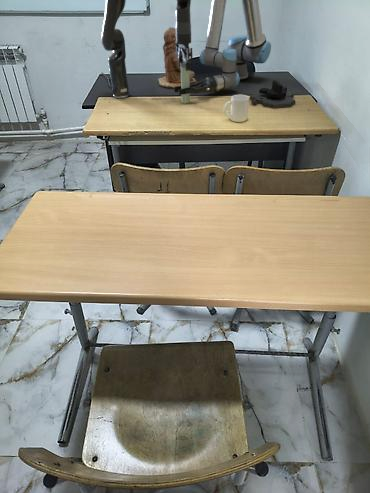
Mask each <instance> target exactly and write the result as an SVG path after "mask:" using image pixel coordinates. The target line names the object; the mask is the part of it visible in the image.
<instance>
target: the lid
mask: <svg viewBox="0 0 370 493" xmlns="http://www.w3.org/2000/svg"><path fill="white" fill-rule="evenodd" d="M185 63H186V62H185V60H183V61H182V62H180V67H182V68H186V65H185Z"/></svg>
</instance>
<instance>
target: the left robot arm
mask: <svg viewBox="0 0 370 493" xmlns="http://www.w3.org/2000/svg"><path fill="white" fill-rule="evenodd" d="M126 2H127V0H105V9H104V19H103V24H102V31H101V44H102V48H103V49H104V50H105V51H107V52H112V53H111V55H110V56H109V57H108V58H107V64H108V70H109V75H110V78H109V76H108V75H106V74H105V73H104V72H101V73H100V76H102V75H103V77H105V78H106V79H107V83H108V86H109V87H110V88H111V89H112V97H113V98H114V99H125V98H128V97H130V90H129V89H130V88H129V82H128V81H129V79H128V74H127V66H126V65H127V64H126V58H127V51H126V41H125V36H124V33H123V32H122V30H121V29H119V28H116V26H117V23H118V21H119V19H120V17H121V15H122V14H123V12H124V10H125V7H126ZM191 3H192V0H176V8H175V29H176V43H177V44H176V57H178V64H179V67H180V62H182V61H185V62H186V63H185V65H186V71H188V70H189V71H191V62H193V48H192V47H190V46H189V45H190V44H191V43H192V23H191V20H192V19H191ZM182 58H183V59H182Z"/></svg>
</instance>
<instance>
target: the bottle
mask: <svg viewBox="0 0 370 493" xmlns="http://www.w3.org/2000/svg"><path fill="white" fill-rule="evenodd" d="M189 71H190V70H188V71H186V68H182V67H181V89H184V88H190V75H189ZM180 96H181V104H190V103H191V93H188V94H183V95H180Z"/></svg>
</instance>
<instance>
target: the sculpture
mask: <svg viewBox="0 0 370 493" xmlns="http://www.w3.org/2000/svg"><path fill="white" fill-rule="evenodd" d="M163 40H164V44H163V45H162V50H163V61H164V71H165V73H164V75H165V76H163V77H159V78H158V79H157V80H158V84H159V86H161V87H163V88H168V89H169V88H174V87H177V86H181V67H179V64H178V57H176V44H177V43H176V27H175V28H174V27H168V28H167V29H166V30H165V31H164V33H163ZM182 59H183V60H184V58H182ZM189 75H190V82H194V81H197V79H195V76H196V74H195V72H194V71H192V70H189Z"/></svg>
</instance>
